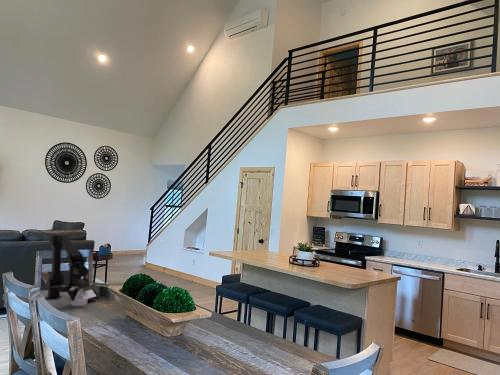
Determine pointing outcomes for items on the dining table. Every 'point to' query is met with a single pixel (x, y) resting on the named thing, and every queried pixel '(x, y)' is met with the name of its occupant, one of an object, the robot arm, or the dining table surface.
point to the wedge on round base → (82, 298)
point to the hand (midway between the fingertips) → (72, 300)
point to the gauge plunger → (95, 289)
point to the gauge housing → (104, 292)
